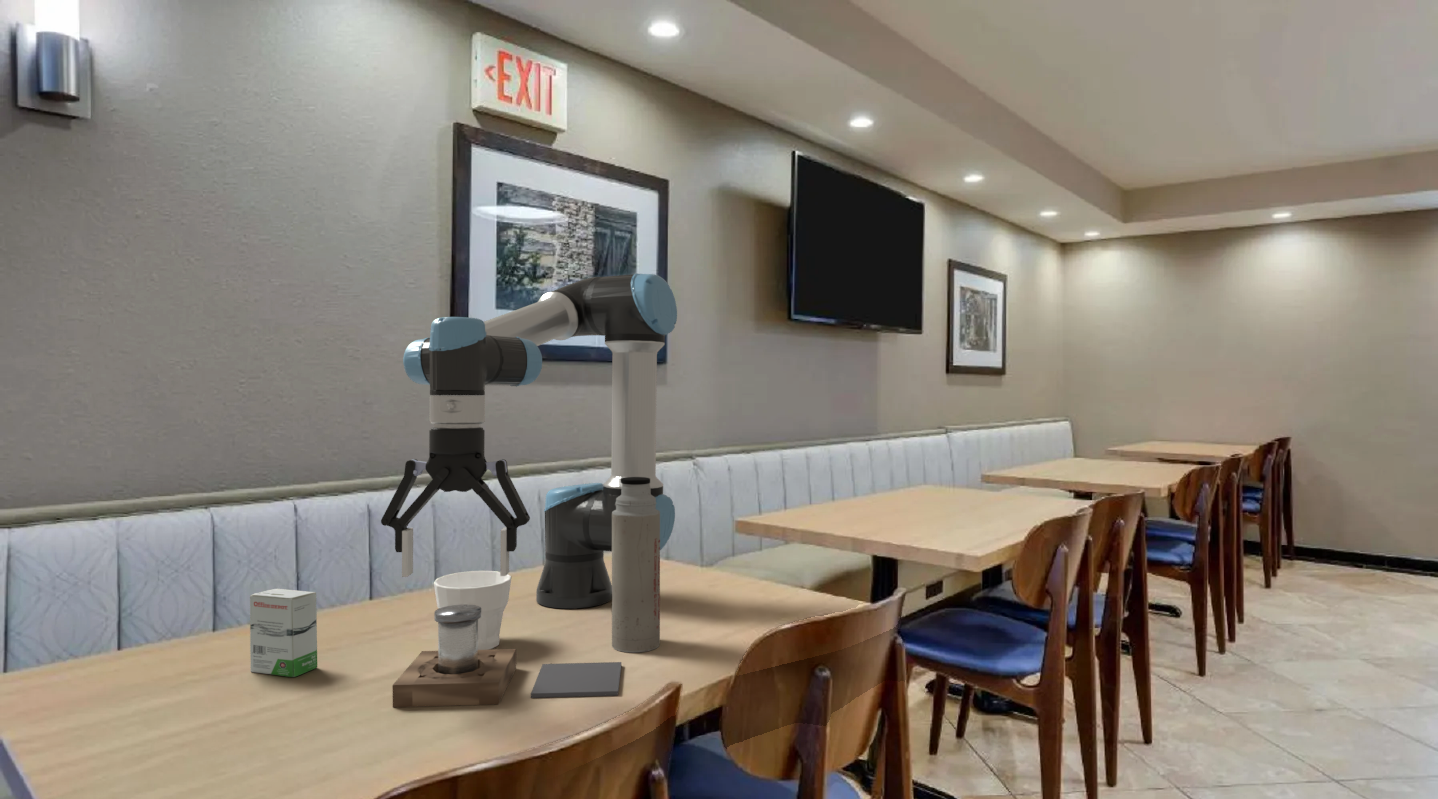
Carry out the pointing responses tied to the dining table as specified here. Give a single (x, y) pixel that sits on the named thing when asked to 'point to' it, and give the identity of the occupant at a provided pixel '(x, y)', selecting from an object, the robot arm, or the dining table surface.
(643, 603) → the thermos bottle
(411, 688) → the block
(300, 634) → the ink box
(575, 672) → the mat
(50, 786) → the dining table surface
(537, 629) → the dining table surface
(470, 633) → the glass jar
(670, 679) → the dining table surface
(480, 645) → the cup
